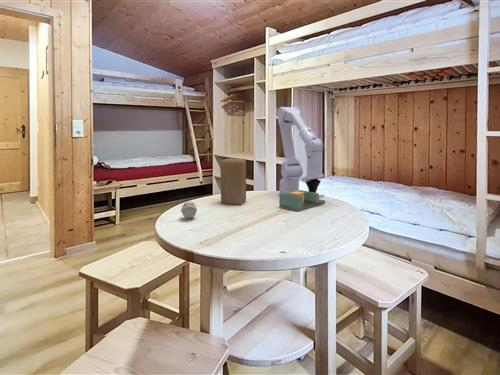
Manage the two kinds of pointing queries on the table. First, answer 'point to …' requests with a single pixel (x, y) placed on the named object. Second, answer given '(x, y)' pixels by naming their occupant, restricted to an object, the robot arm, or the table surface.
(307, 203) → the base
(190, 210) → the grey rounded lump
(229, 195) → the block
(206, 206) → the table surface
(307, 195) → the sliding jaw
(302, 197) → the orange cube
